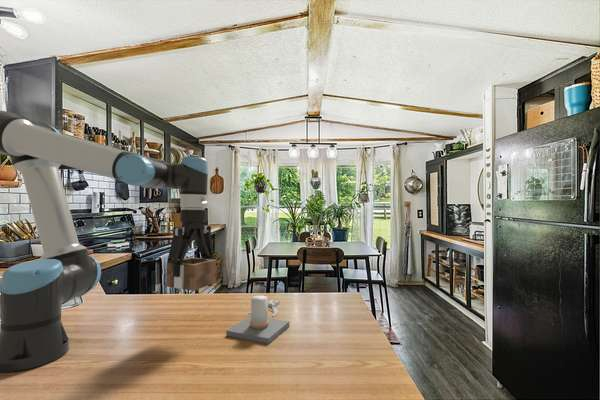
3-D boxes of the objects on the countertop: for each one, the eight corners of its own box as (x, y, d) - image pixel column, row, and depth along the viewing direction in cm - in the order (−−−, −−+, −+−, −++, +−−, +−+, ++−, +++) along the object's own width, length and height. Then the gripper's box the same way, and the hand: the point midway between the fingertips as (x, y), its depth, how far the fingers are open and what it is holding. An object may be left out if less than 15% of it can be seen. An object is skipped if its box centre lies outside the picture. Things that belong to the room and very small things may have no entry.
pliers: (247, 310, 111) (263, 298, 126) (247, 315, 111) (263, 302, 126) (273, 313, 109) (287, 300, 123) (273, 318, 109) (287, 305, 123)
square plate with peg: (268, 343, 87) (268, 307, 88) (226, 335, 93) (226, 301, 93) (289, 326, 100) (289, 294, 101) (251, 319, 106) (251, 289, 106)
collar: (193, 290, 88) (194, 265, 88) (166, 286, 91) (166, 262, 91) (216, 282, 97) (216, 259, 97) (190, 279, 101) (190, 257, 101)
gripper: (175, 209, 83) (173, 294, 82) (226, 209, 103) (225, 277, 103) (153, 208, 85) (151, 291, 85) (208, 208, 106) (206, 275, 106)
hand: (191, 283), depth 94 cm, fingers closed on collar, 10 cm apart
